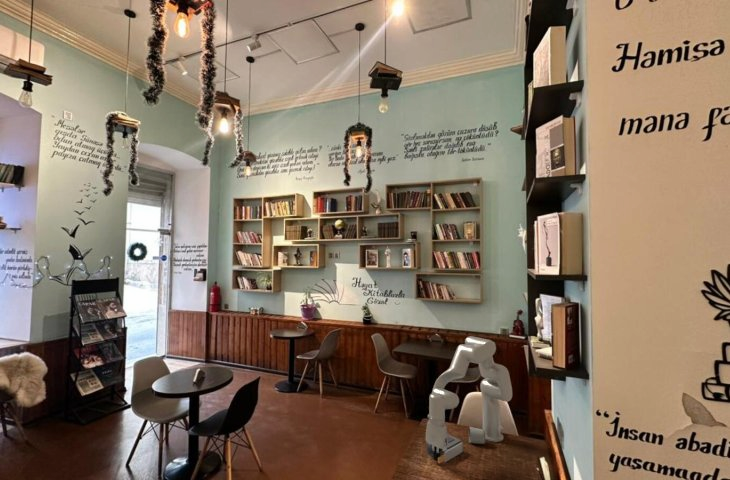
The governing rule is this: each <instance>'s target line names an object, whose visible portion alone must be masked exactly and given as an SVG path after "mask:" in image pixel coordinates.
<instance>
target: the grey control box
mask: <svg viewBox="0 0 730 480" xmlns="http://www.w3.org/2000/svg"><path fill="white" fill-rule="evenodd" d="M447 439H448V443H447V450H448V449H450V448H452V447H453V446H455V445H457V444H459V443H460V442H462V439H460V438H457V437H455V436H453V435H450V434H449V433H447ZM443 452H444V451H440V456H441V455H443ZM426 454H427V455H429V456H430V457H433V450H432V447H431V446H430V445H429V444H428V443H427V442H426ZM433 458H434V457H433Z"/></svg>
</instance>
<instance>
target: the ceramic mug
mask: <svg viewBox="0 0 730 480" xmlns="http://www.w3.org/2000/svg"><path fill="white" fill-rule="evenodd" d="M486 441H487V440H486V437H485V431H484V430H483V428H479V427H478V428H477V427H472V426H469V428H468V442H469V443H470V444H478V445H485V444H486Z"/></svg>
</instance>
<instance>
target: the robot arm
mask: <svg viewBox="0 0 730 480" xmlns="http://www.w3.org/2000/svg"><path fill="white" fill-rule="evenodd" d="M496 350H497V346H496V343H495V342H494V341H493V340H492V339H486V338H482V337H478V336H477V337H476V336H473V335H471V336H467V337H466V338H465V339H464V344H463V343H462V344H459V345H458V346H457V347H456V350H455V352H454V355H453V358H452V359H451V363H450V366H449V368H447V370H445V371H444V372H443V373H441V374H440V375H439V376H438V378H436V380H435V382H434V385H433V388H432V391H431V393H430V394H429V398H428V400H429V402H428V403H429V406H428V410H429V411H428V412H429V413H428V414H427V418H428V421H427V423H426V430H425V442H426V444H427V443H428V444H429V445H430V446H431V447H432V450H433V461H435V462H438V457H440V451H446V450H447V443H448V439H447V434H448V429H447V425H446V423H445V422H446V420H445V419H446V414H445V413H446V410H452V409H455V408H457V407H458V406H459V403H460V398H459V396H458V395H457V393H454V392H452V391H449V390H447V389H445V387H446V385H447V384H448V383H449V382H451V381H453V380H457V379H462V378H465V376H466V374H467V370H468V368H469V365H470V363H473V364H478V368H479V372H480V375H481V377H482V378H483V379H482V380H481V381H480V383H479V384H480V392H481V401H482V403H481V404H482V408H481V409H482V413H481V414H482V430H484V431H485V437H486V440H485V441H489V442H494V443H497V442H498V443H499V442H502V441H503V440H504V435H503V434H502V433H501V431H502V430H503V429H504V427H503V426H502V425H501V404H500V402H499V401H501V402H505V403H506V402H510V401H511V400H512V398H513V387H512V382H511V377H510V372H509V370H508V368H507V367H506V366H504V365H502V364H499V363H496V362H495V361H494V357H493V356H494V355H495V353H496Z"/></svg>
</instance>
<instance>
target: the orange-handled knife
mask: <svg viewBox="0 0 730 480" xmlns="http://www.w3.org/2000/svg"><path fill="white" fill-rule="evenodd" d="M463 452H464V441H461V442H460V443H459V444H457V445H455V446H453V447H452V448H450V449H448V450H446V451H444V452H443V455H441V456H440V457H438V461H437V463H438V464H441V463H446V462H448V461H450V460H452V459H454V458H455V457H456V456H458V455H460V454H461V453H463Z"/></svg>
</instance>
